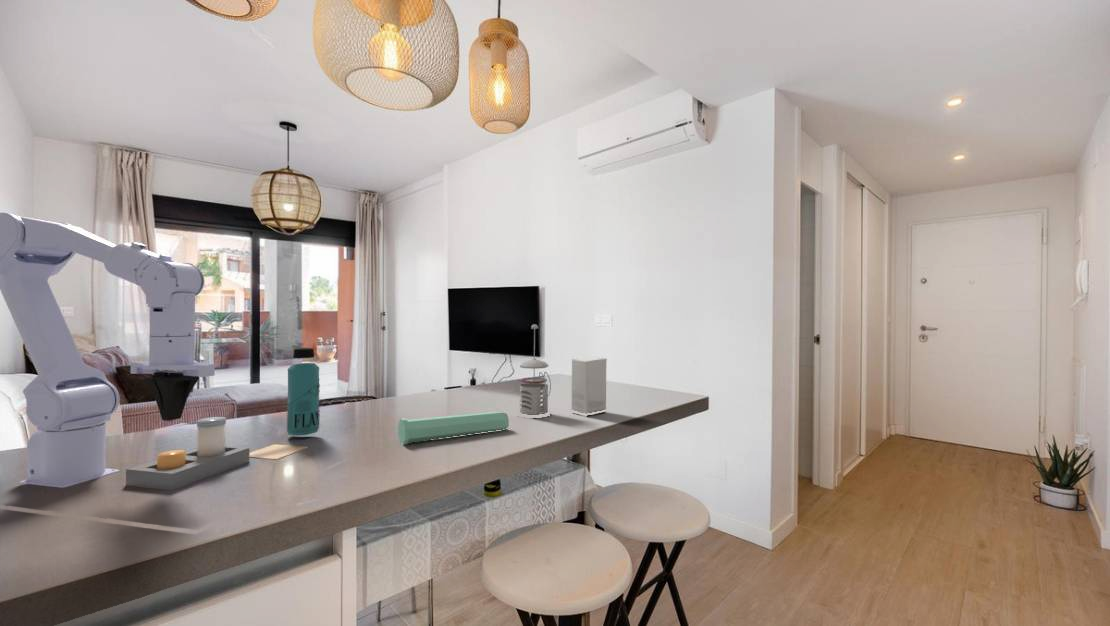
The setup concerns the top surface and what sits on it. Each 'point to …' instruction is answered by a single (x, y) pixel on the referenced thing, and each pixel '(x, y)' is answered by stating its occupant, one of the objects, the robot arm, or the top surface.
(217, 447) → the cartridge
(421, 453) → the top surface
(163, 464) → the orange cylinder
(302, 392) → the beverage bottle
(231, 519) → the top surface
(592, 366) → the skincare box
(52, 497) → the top surface
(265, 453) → the mat
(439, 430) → the container
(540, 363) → the french press
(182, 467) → the housing
